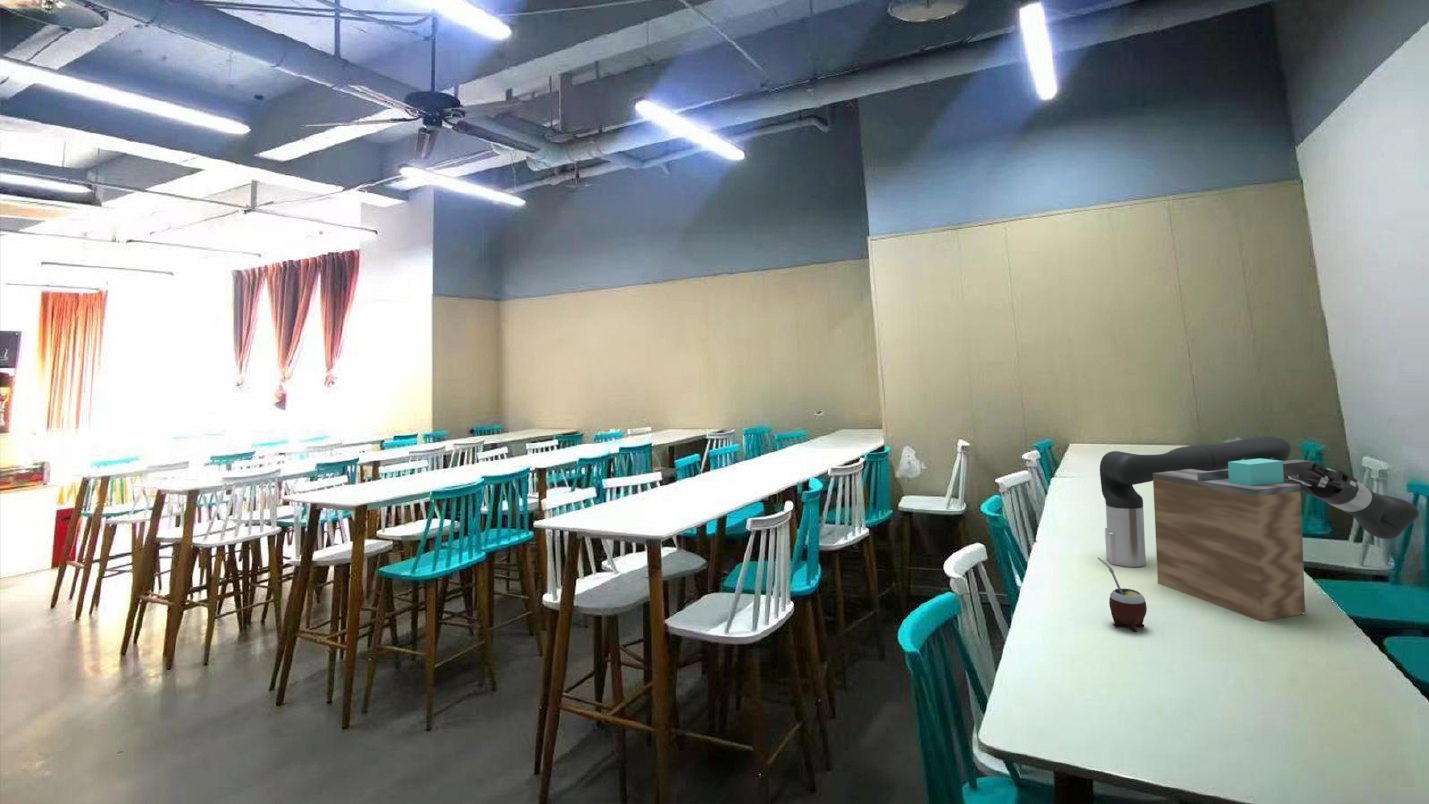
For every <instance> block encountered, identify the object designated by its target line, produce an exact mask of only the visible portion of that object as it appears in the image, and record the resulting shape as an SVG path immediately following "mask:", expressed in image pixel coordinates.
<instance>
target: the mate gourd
mask: <svg viewBox="0 0 1429 804" xmlns="http://www.w3.org/2000/svg"><path fill="white" fill-rule="evenodd" d="M1097 559H1098V560H1099V561H1100V562H1101V563H1102V564H1104V565H1105V566H1106V567H1107V568H1108V571H1109V573H1110V574H1111V576H1112V578H1113V581H1114V582H1115V583H1114V584H1115V585H1116V587H1117V588H1115V589H1114V590H1112V591H1111V593H1109V609H1110V614H1111V617H1112V620H1113V622H1114V623H1112V626H1113V627H1114V626H1115V627H1114V628H1128V627H1129V628H1130V629H1131V630H1130V629H1129V628H1128V629H1129V630H1130V631H1132V632H1133V633H1137V632H1138V630H1137V629H1136V628H1145V624H1144V620H1145V617H1146V615H1147V612H1148V611H1147V610H1148V608H1147V602H1146V599H1145V597H1144V595H1143V594H1142V593H1141V592H1140V591H1138V590H1135V589H1132V588H1124V587H1123V588H1121V585H1120V583H1119V581H1118V580H1117V577H1116V575H1115V573H1114V572H1115V571H1114V569H1113V567H1111V566H1110V565H1109V564H1108V563H1107V562H1106V561H1105V560H1103V559H1101V557H1097Z"/></svg>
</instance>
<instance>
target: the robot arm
mask: <svg viewBox="0 0 1429 804" xmlns="http://www.w3.org/2000/svg"><path fill="white" fill-rule="evenodd" d="M1291 449H1292V448H1291V445H1290V443H1289V442H1288V441H1287V440H1285V439H1283V438H1279V437H1276V436H1275V437H1274V436H1255V437H1248V438H1243V439H1237V440H1233V441H1228V442H1227V441H1226V442H1221V443H1212V444H1198V445H1188V446H1186V445H1185V446H1182V447H1181V446H1180V447H1177V448H1174V449H1171V450H1170V451H1168V452H1164V453H1161V454H1139V453H1138V454H1136V453H1129V452H1125V451H1120V450H1119V451H1118V450H1113V451H1109V452H1107V453H1105V454H1104V455H1103V456H1102V458H1101V461H1100V465H1099V476H1100V477H1099V478H1100V485H1101V493H1102V496H1103V498H1104V501H1105V515H1106V517H1105V518H1106V527H1105V528H1104V534H1105V535H1104V537H1105V539H1104V540H1105V556H1106V560H1107V561H1108V563H1110V564H1111V565H1115V566H1120V567H1127V568H1129V567H1130V568H1135V567H1136V568H1140V567H1143V566H1144V567H1145V566H1146V564H1147V554H1146V535H1145V518H1144V517H1145V514H1144V513H1145V512H1144V500H1143V497H1142V495H1140V494H1139V493H1138V492H1137V491H1136V489H1135V487H1134V485H1140V484H1144V483H1145V484H1146V483H1150V482H1153V473H1159V472H1168V471H1177V470H1186V469H1195V470H1202V471H1215V470H1224V469H1228V462H1231V461H1240V460H1250V459H1259V458H1261V459H1270V460H1279V461H1287V460H1289V457H1290V455H1291V454H1290V453H1291ZM1308 471H1310V472H1311V474H1303V475H1294V476H1286V477H1283V478H1284V482H1285V483H1292V484H1299V485H1300V486H1301V493H1305V494H1307V495H1309V496H1312V497H1314V498H1316V499H1319V500H1320V501H1322V502H1324V503H1326V504H1328V505H1330V506H1332V507H1334V508H1336V509H1338V510H1339V511H1342V512H1344V513H1346V514H1350V515H1352V517H1354V519H1355V521H1356V522H1357V523H1358V525H1360V527H1361V528H1362V529H1364V531H1366V532H1367V533H1368V534H1370V535H1372V536H1374V537H1376V538H1379V539H1382V540H1391V539H1392V540H1393V539H1396V538H1397V537H1399V536H1401V534H1402V533H1403V532H1405V530H1406V529H1408V527H1409V526H1410V525H1412V523H1414V522H1415V521H1416V520H1417V519H1418V518H1419V516H1420V512H1419V509H1418V508H1417V507H1416V506H1415V505H1414V504H1413V503H1411V502H1410V501H1407V500H1405V499H1402V498H1398V497H1394V496H1390V495H1385V494H1380V493H1376V492H1374V491H1372V490H1371V489H1368V488H1367V487H1366V486H1365V485H1363V484H1362V483H1361V482H1359V481H1358V479H1356V478H1354V477H1353V476H1352V475H1349V474H1348V473H1346V472H1345V471H1344V470H1338V469H1337V470H1336V469H1332V468H1329V467H1325V466H1322V465H1321V464H1320V463H1317V462H1316V461H1310V464H1309V466H1308Z"/></svg>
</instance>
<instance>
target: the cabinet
mask: <svg viewBox="0 0 1429 804" xmlns="http://www.w3.org/2000/svg"><path fill="white" fill-rule="evenodd" d="M1152 485H1153V486H1152V487H1153V502H1154V503H1153V504H1154V527H1155V528H1154V529H1155V550H1156V551H1155V552H1156V570H1157V571H1156V572H1157V573H1156V574H1157V584H1159V585H1162V586H1165V587H1168V588H1169V589H1173V590H1175V591H1178V592H1181V593H1184V594H1187V595H1189V596H1192V597H1194V598H1196V599H1200V600H1203V601H1205V602H1208V603H1211V604H1213V605H1216V606H1219V607H1222V608H1224V609H1227V610H1230V611H1233V612H1235V613H1238V614H1241V615H1243V616H1246V617H1249V618H1252V619H1255V620H1257V621H1260V622H1263V621H1269V620H1270V621H1271V620H1276V619H1282V618H1289V617H1294V616H1295V615H1296V616H1300V615H1299V614H1303V613H1305V614H1306V604H1305V603H1306V600H1305V597H1306V596H1305V574H1304V549H1303V548H1304V545H1303V543H1304V542H1303V518H1302V515H1303V514H1302V492H1301V486H1300V485H1299V484H1292V483H1285V482H1281V483H1272V484H1264V485H1255V486H1248V485H1242V484H1235V483H1229V472H1228V468H1226V469H1224V470H1215V471H1202V470H1195V469H1186V470H1177V471H1168V472H1159V473H1153V481H1152ZM1303 615H1304V614H1303ZM1296 616H1295V617H1296Z"/></svg>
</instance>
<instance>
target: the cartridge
mask: <svg viewBox="0 0 1429 804" xmlns="http://www.w3.org/2000/svg"><path fill="white" fill-rule="evenodd" d="M1310 462H1311V460H1306V459H1305V460H1303V459H1291V460H1290V459H1288V460H1287V461H1279V460H1270V459H1261V458H1259V459H1250V460H1244V459H1242V460H1240V461H1231V462H1228V468H1227V469H1228V472H1229V483H1235V484H1242V485H1248V486H1255V485H1264V484H1272V483H1281V482H1284V478H1283V477H1286V476H1294V475H1303V474H1311V472H1310V471H1308V466H1309V464H1310Z"/></svg>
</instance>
